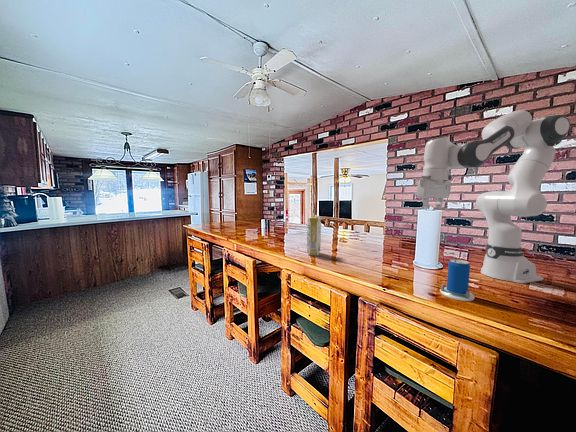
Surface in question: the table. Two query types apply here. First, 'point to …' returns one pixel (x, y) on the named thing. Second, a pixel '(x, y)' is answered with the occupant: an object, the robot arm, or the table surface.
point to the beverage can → (458, 276)
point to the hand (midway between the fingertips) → (432, 208)
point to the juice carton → (314, 235)
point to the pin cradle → (466, 297)
